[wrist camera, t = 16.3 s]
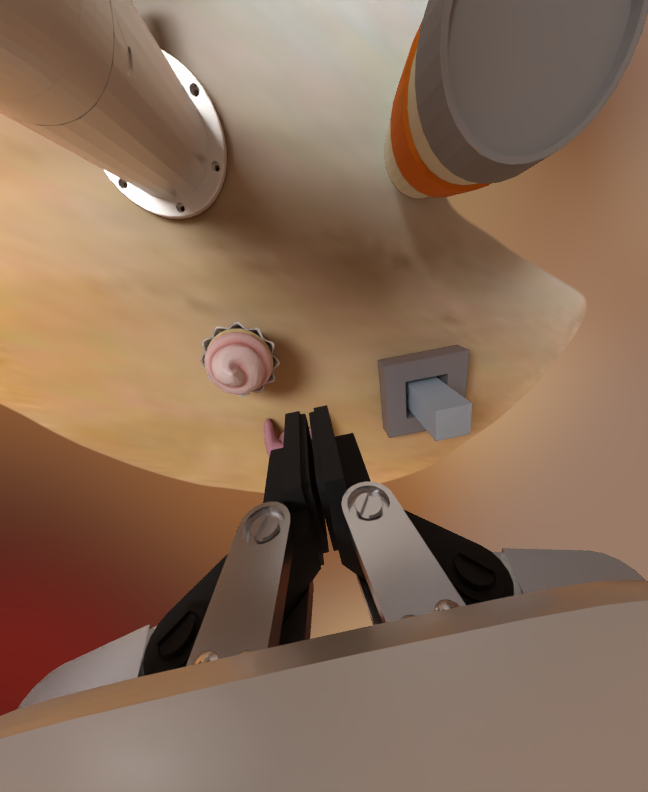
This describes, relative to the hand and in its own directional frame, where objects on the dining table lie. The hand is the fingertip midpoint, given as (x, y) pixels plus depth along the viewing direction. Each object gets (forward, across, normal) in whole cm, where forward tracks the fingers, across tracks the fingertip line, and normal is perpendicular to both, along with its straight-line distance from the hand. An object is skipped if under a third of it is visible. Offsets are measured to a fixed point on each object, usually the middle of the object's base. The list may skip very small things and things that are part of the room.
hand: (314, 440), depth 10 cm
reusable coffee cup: (+27, -17, -16) cm, 36 cm away
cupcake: (+27, +8, +2) cm, 28 cm away
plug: (+26, -16, +14) cm, 33 cm away
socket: (+26, -16, +14) cm, 34 cm away
